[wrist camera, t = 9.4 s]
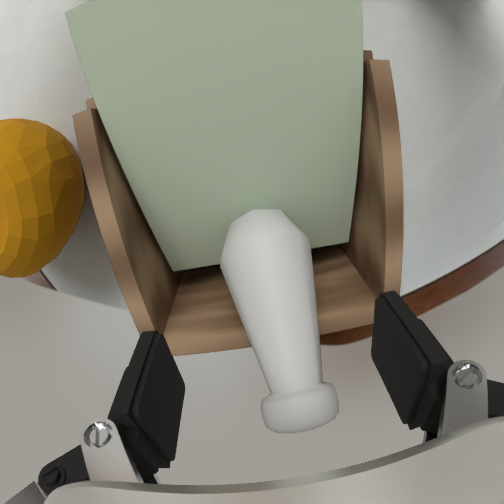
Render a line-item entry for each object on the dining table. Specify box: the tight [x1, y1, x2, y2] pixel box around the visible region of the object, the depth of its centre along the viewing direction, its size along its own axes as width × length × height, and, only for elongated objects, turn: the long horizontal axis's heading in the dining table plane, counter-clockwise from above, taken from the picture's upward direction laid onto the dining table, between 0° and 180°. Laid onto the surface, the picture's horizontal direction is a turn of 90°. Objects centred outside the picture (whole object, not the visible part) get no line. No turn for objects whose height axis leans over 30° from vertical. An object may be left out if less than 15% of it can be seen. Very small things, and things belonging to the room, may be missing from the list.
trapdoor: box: [65, 0, 363, 271], centre depth 18 cm, size 20×14×6 cm
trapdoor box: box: [73, 50, 403, 356], centre depth 21 cm, size 17×17×10 cm
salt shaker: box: [220, 209, 339, 433], centre depth 18 cm, size 6×6×13 cm
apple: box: [0, 119, 85, 278], centre depth 19 cm, size 13×13×11 cm
